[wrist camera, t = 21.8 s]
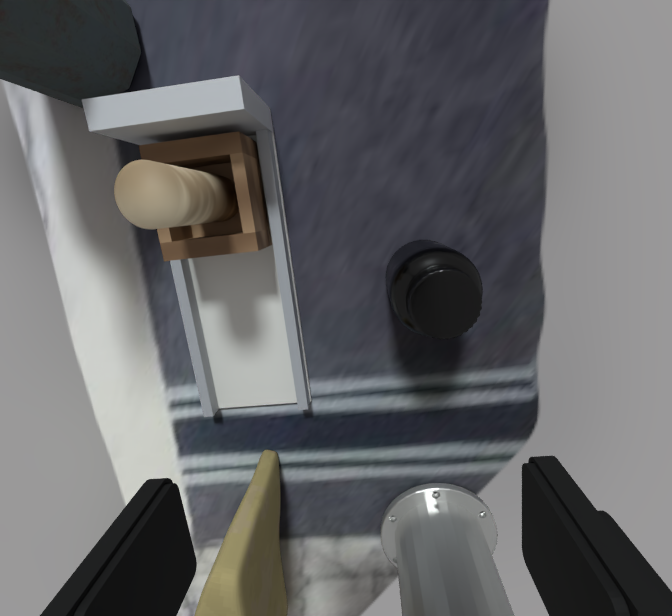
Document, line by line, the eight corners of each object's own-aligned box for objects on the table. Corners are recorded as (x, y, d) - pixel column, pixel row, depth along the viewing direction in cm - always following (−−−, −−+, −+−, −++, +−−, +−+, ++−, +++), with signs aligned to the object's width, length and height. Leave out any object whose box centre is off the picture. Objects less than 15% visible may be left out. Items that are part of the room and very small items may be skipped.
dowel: (243, 218, 35) (185, 225, 24) (201, 223, 36) (123, 232, 24) (235, 172, 34) (171, 155, 23) (192, 177, 35) (106, 164, 23)
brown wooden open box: (272, 245, 37) (258, 250, 32) (189, 254, 37) (164, 261, 32) (256, 141, 34) (239, 131, 30) (169, 153, 35) (138, 145, 30)
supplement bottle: (457, 235, 36) (503, 250, 24) (457, 308, 38) (499, 353, 26) (382, 240, 37) (391, 256, 25) (385, 311, 38) (395, 357, 27)
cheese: (227, 439, 43) (159, 557, 29) (315, 455, 43) (291, 583, 28) (211, 593, 49) (147, 757, 34) (288, 608, 49) (257, 780, 34)
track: (311, 399, 41) (298, 451, 32) (210, 407, 42) (170, 459, 33) (270, 108, 34) (239, 75, 26) (150, 125, 35) (81, 99, 27)
